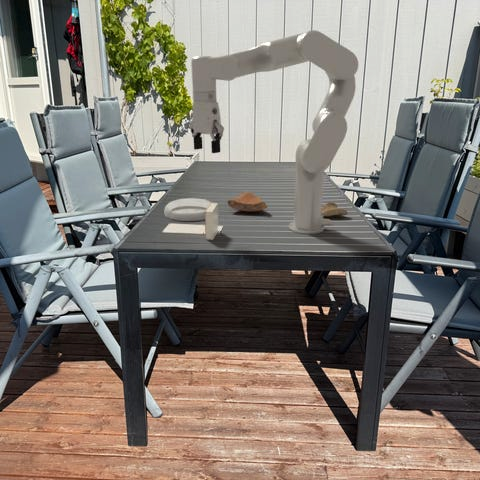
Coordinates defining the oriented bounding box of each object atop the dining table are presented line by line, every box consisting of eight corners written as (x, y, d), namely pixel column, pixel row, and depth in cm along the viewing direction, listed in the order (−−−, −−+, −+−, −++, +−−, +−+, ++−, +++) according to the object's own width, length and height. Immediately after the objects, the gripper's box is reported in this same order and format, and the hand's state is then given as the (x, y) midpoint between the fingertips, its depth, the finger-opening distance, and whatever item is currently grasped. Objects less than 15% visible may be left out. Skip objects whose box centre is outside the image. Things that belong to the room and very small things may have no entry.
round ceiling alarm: (225, 210, 193) (225, 196, 191) (216, 230, 170) (216, 214, 168) (167, 208, 196) (166, 194, 194) (151, 227, 173) (149, 212, 170)
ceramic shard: (275, 207, 191) (244, 196, 197) (276, 193, 188) (245, 183, 194) (258, 222, 181) (226, 211, 187) (259, 208, 177) (226, 197, 183)
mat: (223, 227, 166) (223, 226, 166) (212, 248, 147) (212, 246, 147) (169, 225, 168) (169, 223, 168) (152, 244, 150) (152, 243, 149)
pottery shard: (349, 218, 180) (338, 205, 188) (350, 209, 177) (340, 196, 185) (323, 222, 178) (314, 209, 186) (324, 212, 175) (315, 199, 183)
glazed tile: (218, 230, 161) (217, 203, 157) (212, 240, 152) (212, 211, 148) (211, 230, 161) (210, 202, 158) (205, 240, 152) (204, 211, 148)
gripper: (231, 98, 143) (232, 152, 149) (198, 95, 155) (200, 146, 162) (212, 99, 139) (214, 155, 145) (179, 97, 151) (182, 149, 157)
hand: (206, 150), depth 153 cm, fingers open, 9 cm apart
